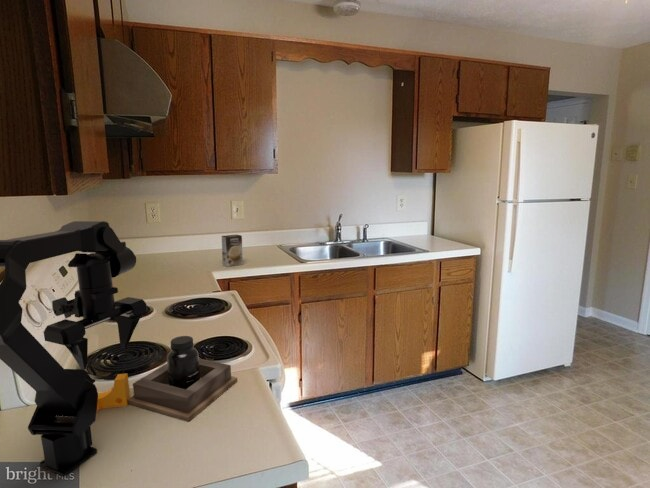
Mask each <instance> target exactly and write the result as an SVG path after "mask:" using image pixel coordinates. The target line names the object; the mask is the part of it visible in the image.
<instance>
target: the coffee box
mask: <svg viewBox="0 0 650 488" xmlns="http://www.w3.org/2000/svg"><path fill="white" fill-rule="evenodd" d="M221 252H222V253H221V255H222V266H224V267H227V268H229V267H235V266H241V265H244V261H243V235H241V234H225V235H221Z"/></svg>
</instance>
